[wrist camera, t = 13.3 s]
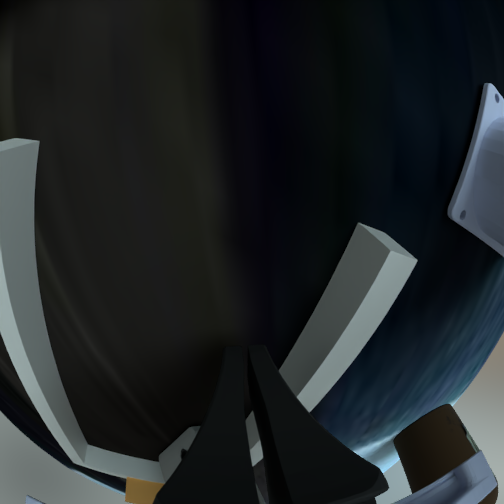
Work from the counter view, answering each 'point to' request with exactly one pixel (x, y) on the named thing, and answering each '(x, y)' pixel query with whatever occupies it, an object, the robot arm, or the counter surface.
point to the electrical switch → (182, 455)
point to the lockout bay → (293, 369)
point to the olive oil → (436, 449)
